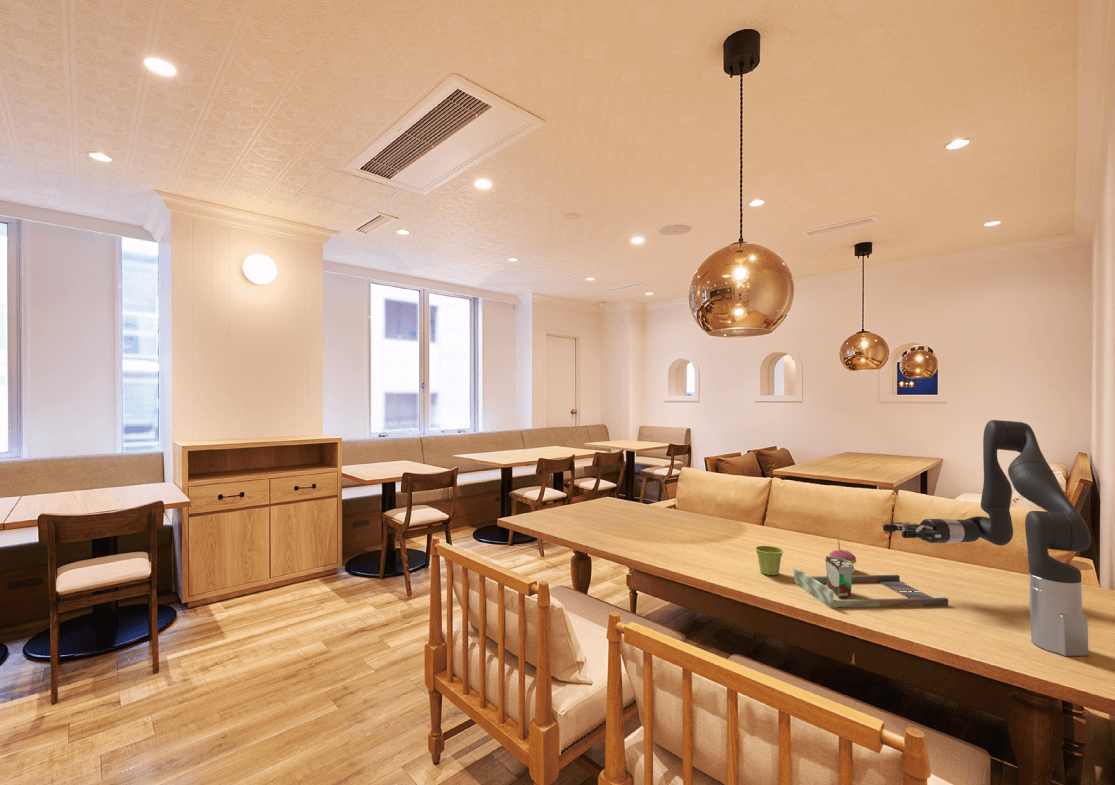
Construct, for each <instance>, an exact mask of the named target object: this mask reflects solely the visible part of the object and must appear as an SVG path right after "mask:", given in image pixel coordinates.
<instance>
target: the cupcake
mask: <svg viewBox="0 0 1115 785" xmlns="http://www.w3.org/2000/svg"><path fill="white" fill-rule="evenodd" d="M836 538H837V539H836V542H837V549H836V550H833V551H832V552H830V553H829V556H831V557H838V558H842V559H845V560H848V561H850V562H851V563H852V564H853V565H854V564H855V563H857V558H856V556H855V555H854V554H853V553H852V552H850V551H849V550H844V549H841V543H840V539H839V538H838V537H836Z"/></svg>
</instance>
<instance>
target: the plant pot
mask: <svg viewBox="0 0 1115 785" xmlns="http://www.w3.org/2000/svg"><path fill="white" fill-rule="evenodd" d="M754 549H755V551H756V554H757V559H758V567H759V571H760V574H763V575H764V574H767V575H766V576H769V575H773V576H776V575H777V576H779V575H778V574H780V567H781V561H782V556H783V553H784V551H785V550H784V549H782V548H780V547H778V546H773V545H757V546H755V547H754Z"/></svg>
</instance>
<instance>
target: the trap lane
mask: <svg viewBox="0 0 1115 785" xmlns="http://www.w3.org/2000/svg"><path fill="white" fill-rule="evenodd" d="M794 582H795V583H796V584H795V583H794ZM854 582H860V583H879V582H880V583H879V584H881V583H882V584H881V585H883V584H884V585H883V586H885V585H886V586H888V587H890V588H892V589H893V590H892V589H891V590H892V591H894V590H895V592H896V591H898V592H897V593H899V594H900V593H901V594H900V595H902V594H903V595H902V596H904V595H905V596H906V597H905V596H904V597H905V598H903V597H902V598H860V599H859V598H858V599H854V598H853V599H850V598H849V599H834V593H833V590H831V589H829V588H828V587H827V585H825V584H827V575H824V576H823V575H817V576H815V575H812V576H811V575H809V574H807V573H806V572H804V571H803V570H801V569H799V568H798V567H793V583H794V584H795V585H797V584H798V585H799V586H798V585H797V586H798V587H800V588H801V587H802V588H803V590H804V591H805V590H806V591H805V592H807V593H808V592H809V593H808V594H809V595H811V594H812V595H813V596H812V595H811V596H812V597H814V598H815V597H816V598H815V599H817V600H818V601H819V602H821V603H822V602H823V604H824V605H825V604H826V605H825V606H827V607H828V608H829V609H839V608H838V607H857V608H882V607H881V606H908V607H946V606H945V605H948V606H949V598H947V597H933V596H930V595H928V594H926V593H925V592H923V591H919V590H918V589H916V588H914V587H912V586H910V585H908V584H906V583H904V582H902V581H901V580H900V575H899V574H875V575H874V574H873V575H872V574H871V575H870V574H869V575H866V574H865V575H863V574H862V575H852V584H853V583H854ZM886 586H885V587H886ZM888 587H887V588H888ZM890 588H889V589H890ZM899 591H907V592H899ZM908 591H912V592H908ZM914 591H919V592H914ZM907 597H908V598H907ZM876 606H877V607H876ZM878 606H880V607H878Z"/></svg>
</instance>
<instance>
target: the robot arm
mask: <svg viewBox="0 0 1115 785" xmlns="http://www.w3.org/2000/svg"><path fill="white" fill-rule="evenodd" d="M982 443H983V444H982V446H983V447H982V449H983V451H982V453H983V455H982V458H983V460H982V461H983V463H982V464H983V483H982V484H983V485H982V493H981V499H980V509H981V510H983V511H984V512H985V513H986V514H987V515H988V516H973V517H969V518H965V519H951V518H925V519H923V520H921V522H920V523H910V522H909V521H908V522H900V521H899V522H897V521H894V522H892V521H891V523H889V524H886V523H885V524H883V525H882V531H883V532H887V533H888V532H889V533H890V532H892V533H893V532H894V533H901V537H902V538H904V539H916V540H922V541H924V542H927V543H929V544H954V543H970V542H971V543H973V542H976V541H977V540H979V538H981V539H983V540H985V541H987V542H989V543H991V544H992V545H995V546H998V547H999V546H1000V547H1001V546H1006V545H1008V544H1009V543H1010V542H1011V541H1012V539H1013V536H1014V526H1013V521H1012V516H1011V510H1010V509H1011V505H1012V504H1011V502H1012V496H1013V488H1014V490H1015V491H1016V493H1018V494H1020V495H1021V496H1022V497H1023V498H1024V499H1026V500H1027V501H1029V502H1031V503H1032V504H1034V505H1036V506H1038V507H1039V508H1040V509H1043V510H1031V511H1028V512H1027V513H1026V515H1025V519H1024V526H1025V537H1026V547H1027V548H1026V549H1027V561H1028V562H1027V563H1028V580H1029V581H1028V586H1029V588H1028V589H1029V617H1030V619H1029V620H1030V621H1029V622H1030V641H1031V643H1033V645H1035V646H1037V647H1039V648H1041V649H1044V650H1046V651H1048V652H1049V651H1050V652H1052V653H1056V654H1059V655H1061V656H1064V657H1076V656H1077V657H1078V656H1085V657H1086V656H1089V655H1090V654H1089V650H1090V649H1089V624H1088V623H1089V622H1088V615H1087V614H1084V613H1083V590H1082V589H1083V586H1082V585H1083V583H1082V581H1083V580H1082V572H1081V570H1080V569H1079V568H1078V567H1076V566H1073V565H1072V564H1069V563H1067V562H1064V561H1061V560H1059V559H1056V558H1054V557H1052V556H1051V555H1049V550H1055V551H1063V552H1076V553H1077V552H1084V551H1087V550H1088V549H1090V547H1091V544H1092V536H1091V532H1090V528H1089V527H1088V524H1087V523H1086V521H1085V519H1084V518H1083V517H1082V515H1081V514H1080V512H1079V511H1078V509H1076V507H1075V506H1074V505H1073V503H1072V502H1071V501H1070V499H1069V498H1068V497H1067V494H1066V493H1065V491H1064V490H1063V488H1062V486H1061V485H1060V483H1059V481H1058V478H1057V476H1056V474H1055V473H1054V470H1052V467H1051V466H1050V465H1049V463H1048V462H1047V460H1046V458H1045V456H1044V455H1043V453H1042V450H1041V448H1040V446H1039V443H1038V440H1037V438H1036V435H1035V433H1034V430H1033V429H1032V426H1030V425H1029V424H1028V423H1026V422H1021V421H1014V420H1013V421H1012V420H999V419H990V420H989V421H987V423H986V424H985V427H984V430H983V438H982ZM998 450H1001V451H1012V452H1018V453H1020V454H1019V455H1018V456H1016V457H1015V458H1014V459H1013V460H1012V461H1011V462H1010V464H1009V466H1008V470H1007V474H1008V477H1009V479H1008V477H1007V476H1006V474H1005V472H1004V471H1003V468H1002V467H1001V464H1000V463H999V460H998ZM1010 481H1011V483H1010ZM1012 486H1013V488H1012Z"/></svg>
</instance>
